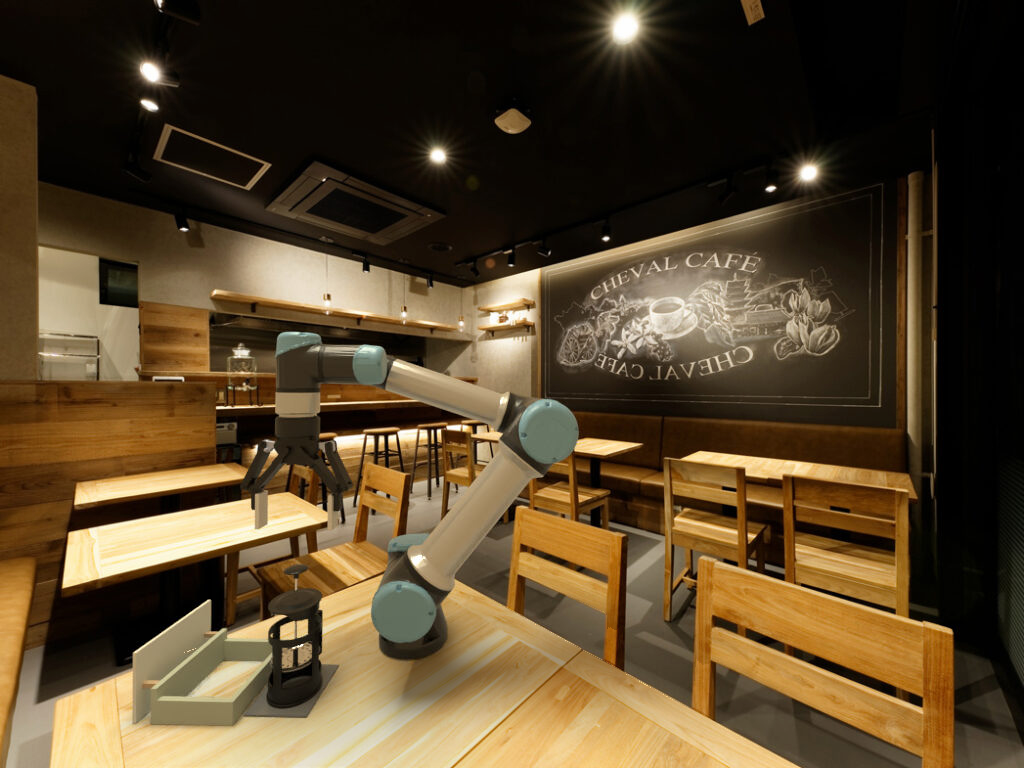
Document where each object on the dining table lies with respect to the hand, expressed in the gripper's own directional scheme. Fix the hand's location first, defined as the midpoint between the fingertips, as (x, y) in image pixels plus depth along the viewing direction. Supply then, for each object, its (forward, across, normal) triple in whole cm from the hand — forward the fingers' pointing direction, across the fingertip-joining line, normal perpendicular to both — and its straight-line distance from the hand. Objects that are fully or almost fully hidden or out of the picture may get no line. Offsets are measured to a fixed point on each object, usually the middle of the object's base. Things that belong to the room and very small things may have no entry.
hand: (296, 527), depth 78 cm
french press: (+30, 0, 0) cm, 31 cm away
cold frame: (+31, +15, 0) cm, 34 cm away
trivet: (+31, 0, 0) cm, 31 cm away
